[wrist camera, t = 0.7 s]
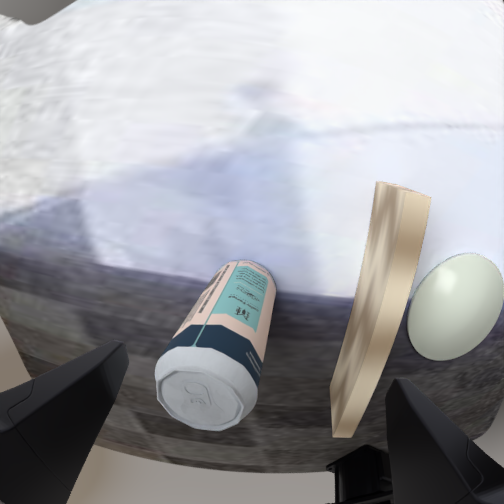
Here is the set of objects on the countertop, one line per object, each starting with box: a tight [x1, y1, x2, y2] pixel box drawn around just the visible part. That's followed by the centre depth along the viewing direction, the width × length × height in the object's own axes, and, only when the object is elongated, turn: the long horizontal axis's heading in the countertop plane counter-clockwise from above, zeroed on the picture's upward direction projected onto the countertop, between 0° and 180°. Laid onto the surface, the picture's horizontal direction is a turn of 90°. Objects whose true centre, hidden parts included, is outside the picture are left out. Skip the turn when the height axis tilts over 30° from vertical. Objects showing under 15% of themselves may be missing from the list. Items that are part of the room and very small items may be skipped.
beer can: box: [155, 260, 276, 431], centre depth 17 cm, size 5×5×12 cm
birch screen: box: [330, 181, 431, 438], centre depth 19 cm, size 18×2×6 cm, turn 175°
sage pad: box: [407, 253, 504, 361], centre depth 20 cm, size 10×10×1 cm
